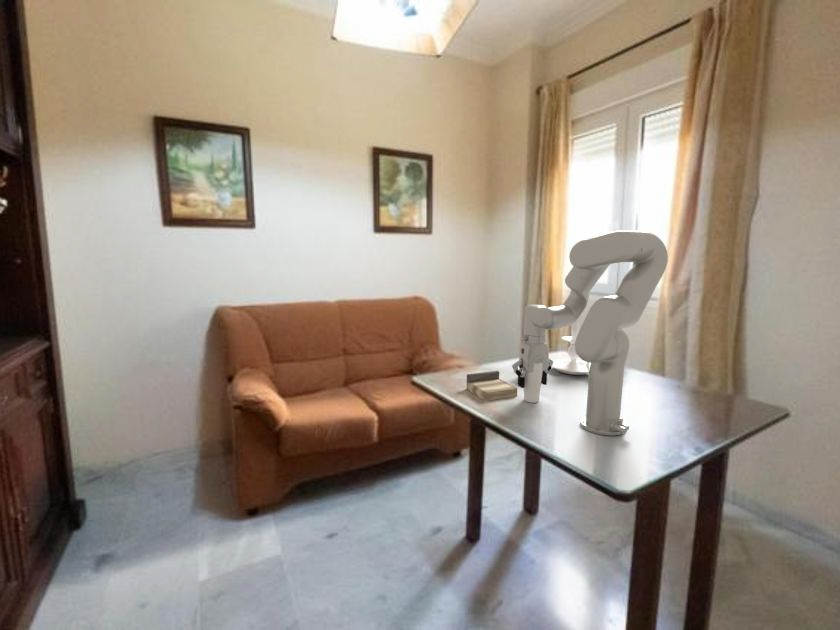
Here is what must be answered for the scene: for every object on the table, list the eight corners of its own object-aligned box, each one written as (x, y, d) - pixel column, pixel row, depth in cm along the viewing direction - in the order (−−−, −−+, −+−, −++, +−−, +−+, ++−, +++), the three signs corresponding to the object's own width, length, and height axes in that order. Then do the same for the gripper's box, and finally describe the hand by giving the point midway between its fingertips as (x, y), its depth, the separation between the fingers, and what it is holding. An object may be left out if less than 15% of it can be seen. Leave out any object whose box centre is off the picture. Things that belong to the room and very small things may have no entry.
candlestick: (572, 383, 168) (576, 317, 164) (540, 367, 191) (543, 309, 187) (614, 380, 173) (619, 315, 169) (578, 364, 197) (581, 307, 192)
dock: (517, 396, 153) (517, 380, 152) (484, 400, 148) (485, 385, 147) (496, 384, 166) (497, 370, 165) (466, 389, 161) (466, 374, 160)
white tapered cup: (518, 399, 150) (519, 359, 147) (532, 396, 153) (533, 357, 150) (530, 405, 144) (532, 364, 141) (545, 402, 147) (547, 362, 144)
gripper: (520, 343, 138) (518, 391, 141) (561, 339, 144) (558, 385, 147) (507, 339, 145) (506, 385, 148) (547, 335, 151) (544, 379, 154)
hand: (532, 385), depth 147 cm, fingers open, 9 cm apart
